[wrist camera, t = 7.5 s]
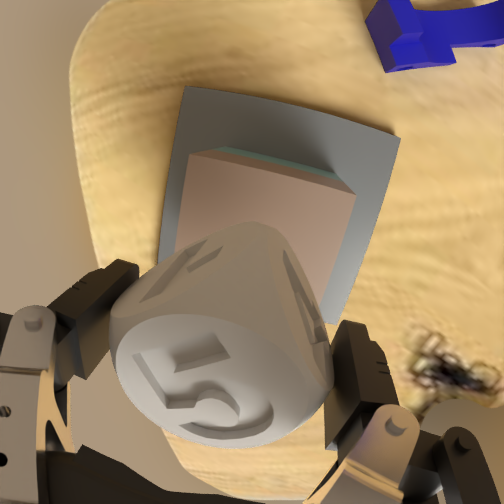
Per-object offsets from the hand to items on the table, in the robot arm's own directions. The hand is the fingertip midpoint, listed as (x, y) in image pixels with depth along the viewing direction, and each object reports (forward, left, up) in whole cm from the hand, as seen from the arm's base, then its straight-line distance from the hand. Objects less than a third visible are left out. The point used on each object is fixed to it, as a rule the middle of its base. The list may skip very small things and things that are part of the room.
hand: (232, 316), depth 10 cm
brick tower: (0, 0, -15) cm, 15 cm away
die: (0, 0, -2) cm, 2 cm away
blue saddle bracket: (-10, -18, -15) cm, 25 cm away
